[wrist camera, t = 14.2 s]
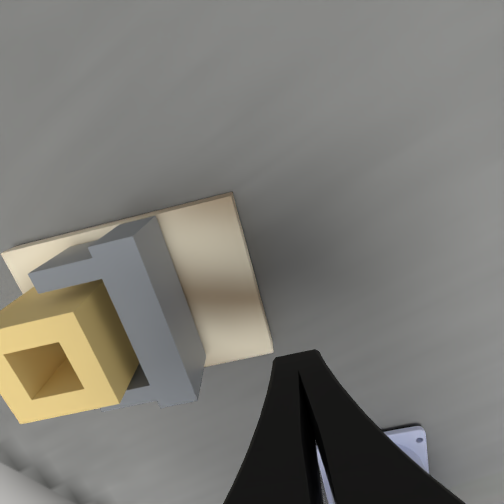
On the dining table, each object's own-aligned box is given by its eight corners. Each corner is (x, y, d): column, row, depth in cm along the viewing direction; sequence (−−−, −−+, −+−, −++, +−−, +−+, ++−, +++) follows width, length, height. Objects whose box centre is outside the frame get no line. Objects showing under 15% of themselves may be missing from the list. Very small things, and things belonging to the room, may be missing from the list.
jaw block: (150, 338, 20) (119, 403, 15) (74, 355, 20) (20, 424, 15) (119, 265, 18) (73, 311, 13) (36, 284, 18) (-38, 337, 14)
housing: (206, 355, 20) (197, 400, 16) (128, 372, 20) (105, 419, 17) (155, 215, 17) (132, 236, 13) (65, 238, 17) (21, 263, 14)
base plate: (272, 340, 21) (276, 381, 18) (86, 380, 22) (56, 426, 19) (232, 191, 18) (227, 206, 14) (15, 246, 19) (-38, 272, 15)
